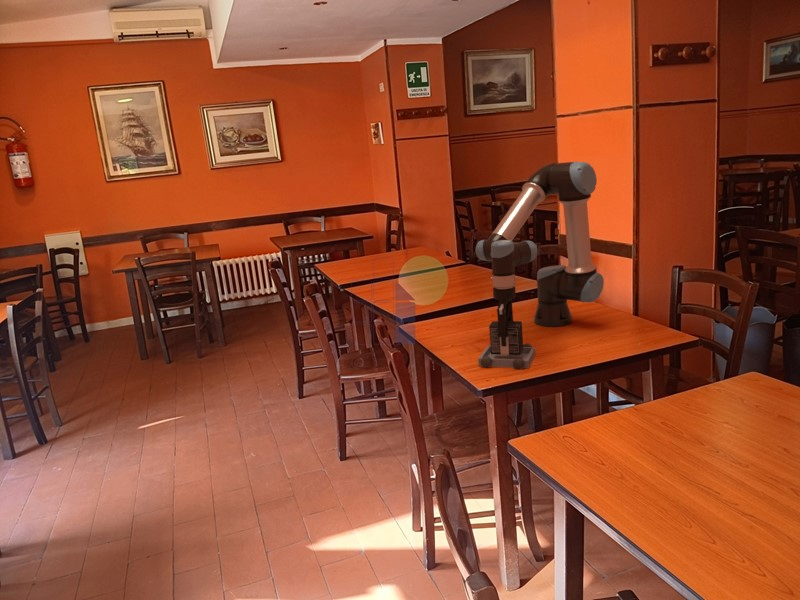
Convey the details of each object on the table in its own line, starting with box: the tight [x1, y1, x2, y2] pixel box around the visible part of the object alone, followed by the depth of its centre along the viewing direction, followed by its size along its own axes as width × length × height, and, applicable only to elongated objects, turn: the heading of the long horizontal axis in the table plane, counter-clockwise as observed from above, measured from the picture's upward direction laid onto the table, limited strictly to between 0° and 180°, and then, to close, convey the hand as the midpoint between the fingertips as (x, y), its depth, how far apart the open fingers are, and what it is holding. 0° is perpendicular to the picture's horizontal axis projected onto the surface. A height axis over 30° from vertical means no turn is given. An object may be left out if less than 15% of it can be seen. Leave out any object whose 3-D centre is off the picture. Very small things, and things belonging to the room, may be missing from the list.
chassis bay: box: [477, 342, 536, 371], centre depth 209 cm, size 17×17×4 cm
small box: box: [488, 320, 524, 355], centre depth 207 cm, size 11×6×10 cm, turn 70°
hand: (507, 350), depth 208 cm, fingers closed on small box, 6 cm apart
